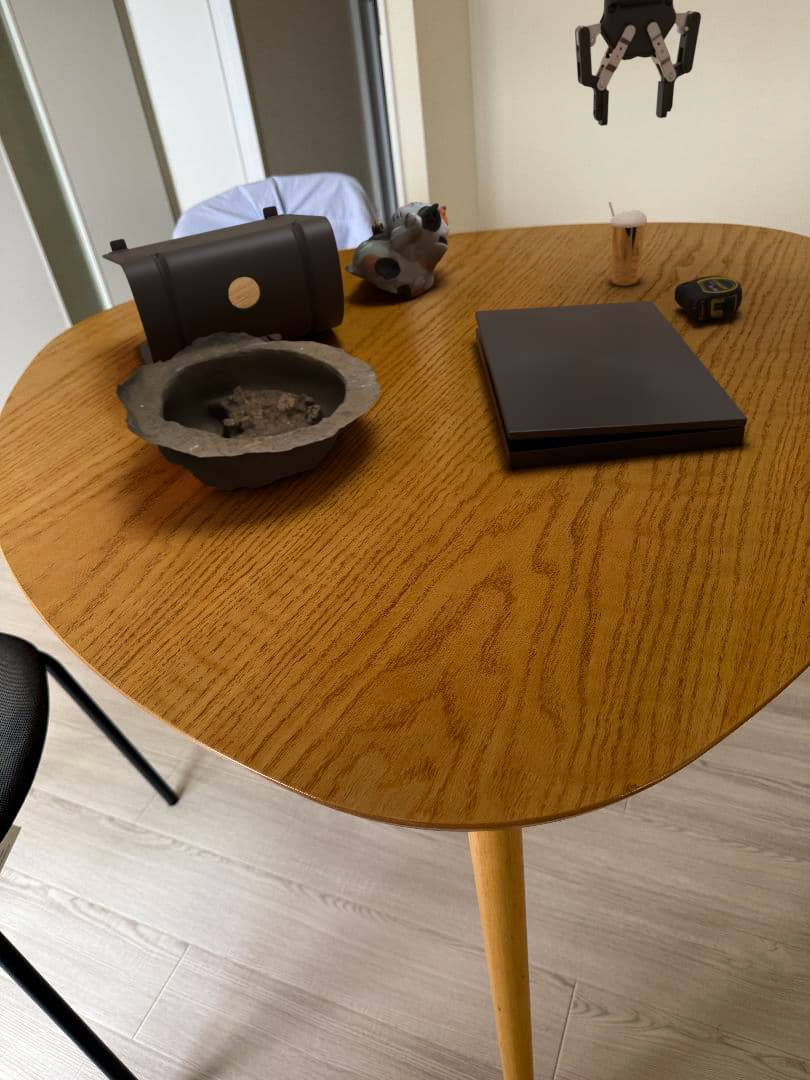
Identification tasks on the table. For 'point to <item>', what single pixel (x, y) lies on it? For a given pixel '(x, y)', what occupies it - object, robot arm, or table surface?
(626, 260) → the milkshake
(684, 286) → the tape measure
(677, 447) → the laptop
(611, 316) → the laptop screen
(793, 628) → the table surface
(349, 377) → the stone bowl
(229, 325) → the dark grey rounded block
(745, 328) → the table surface
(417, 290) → the lucky cat figurine
